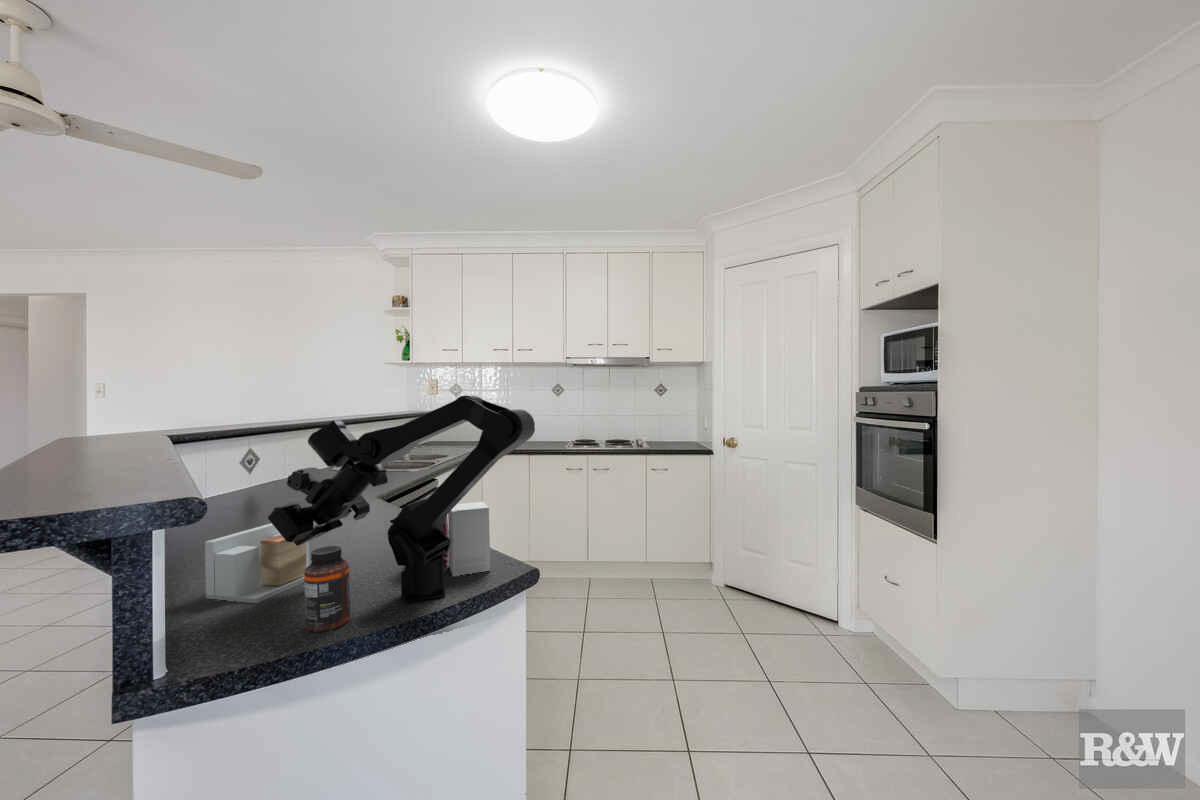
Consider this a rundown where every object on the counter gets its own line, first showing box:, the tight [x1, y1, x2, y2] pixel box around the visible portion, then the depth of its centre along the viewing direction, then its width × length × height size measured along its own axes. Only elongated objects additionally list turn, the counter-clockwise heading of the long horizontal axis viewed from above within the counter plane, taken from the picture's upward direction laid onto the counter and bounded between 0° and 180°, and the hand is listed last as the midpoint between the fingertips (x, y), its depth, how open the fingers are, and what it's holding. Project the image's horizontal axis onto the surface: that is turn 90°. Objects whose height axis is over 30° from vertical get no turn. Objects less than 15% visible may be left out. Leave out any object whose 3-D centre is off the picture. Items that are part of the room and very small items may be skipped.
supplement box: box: [447, 501, 491, 577], centre depth 97 cm, size 7×7×13 cm
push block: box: [260, 535, 306, 586], centre depth 90 cm, size 4×6×8 cm, turn 168°
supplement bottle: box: [303, 545, 351, 633], centre depth 73 cm, size 6×6×11 cm
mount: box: [204, 522, 310, 604], centre depth 91 cm, size 11×16×10 cm
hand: (296, 543), depth 90 cm, fingers closed
